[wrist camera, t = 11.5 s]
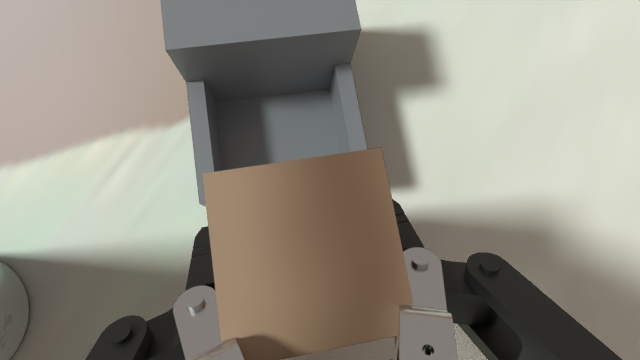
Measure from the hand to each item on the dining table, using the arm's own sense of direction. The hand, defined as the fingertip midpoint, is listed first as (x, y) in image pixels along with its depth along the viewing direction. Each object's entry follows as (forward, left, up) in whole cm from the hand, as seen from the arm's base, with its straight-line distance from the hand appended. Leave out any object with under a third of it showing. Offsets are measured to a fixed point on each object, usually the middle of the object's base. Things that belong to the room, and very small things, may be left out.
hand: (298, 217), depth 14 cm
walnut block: (+1, -1, -7) cm, 7 cm away
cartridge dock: (-5, +9, -15) cm, 18 cm away
